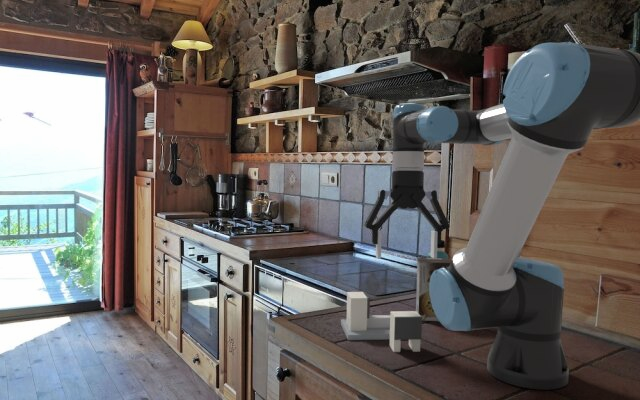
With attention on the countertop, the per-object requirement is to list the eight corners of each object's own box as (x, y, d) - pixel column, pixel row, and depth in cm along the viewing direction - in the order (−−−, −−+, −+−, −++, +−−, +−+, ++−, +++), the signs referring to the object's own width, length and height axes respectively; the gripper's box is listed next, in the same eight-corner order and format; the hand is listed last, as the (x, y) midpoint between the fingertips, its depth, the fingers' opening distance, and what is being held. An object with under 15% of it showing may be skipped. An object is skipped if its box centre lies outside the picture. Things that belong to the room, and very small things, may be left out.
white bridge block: (414, 345, 116) (416, 311, 116) (420, 352, 112) (422, 317, 111) (389, 345, 116) (390, 311, 115) (394, 353, 111) (395, 317, 110)
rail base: (414, 338, 120) (415, 301, 120) (348, 340, 119) (348, 301, 118) (401, 323, 132) (402, 288, 132) (340, 323, 131) (341, 289, 130)
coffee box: (448, 315, 140) (450, 257, 139) (452, 322, 134) (454, 262, 132) (415, 313, 141) (417, 256, 140) (417, 320, 134) (419, 261, 133)
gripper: (453, 170, 125) (451, 255, 126) (354, 169, 123) (352, 255, 124) (464, 170, 118) (462, 260, 119) (358, 169, 116) (357, 260, 117)
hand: (406, 257), depth 122 cm, fingers open, 13 cm apart
